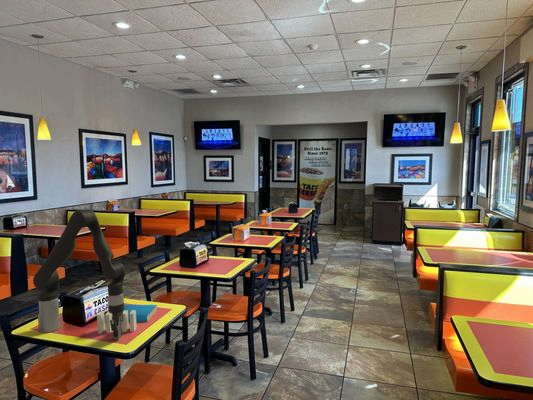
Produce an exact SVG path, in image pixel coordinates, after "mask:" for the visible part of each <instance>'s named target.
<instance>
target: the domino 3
mask: <svg viewBox="0 0 533 400" xmlns="http://www.w3.org/2000/svg"><path fill="white" fill-rule="evenodd" d="M117 323H118V322H116V324H117ZM114 328H115V327H114ZM121 328H122V324H121V323H120V322H119V325H118V337H114V336H113V337H114V338H113V339H114V342H119V341H120V339H121V337H122V331H121Z"/></svg>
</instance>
